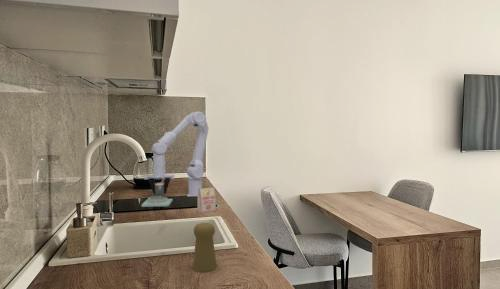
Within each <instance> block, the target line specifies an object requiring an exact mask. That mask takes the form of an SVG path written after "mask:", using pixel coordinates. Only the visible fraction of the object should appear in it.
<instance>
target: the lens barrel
mask: <svg viewBox="0 0 500 289" xmlns="http://www.w3.org/2000/svg"><path fill="white" fill-rule="evenodd" d="M164 190H165V186H164V182H155V194H154V196H166V194H165V193H164Z"/></svg>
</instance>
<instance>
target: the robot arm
mask: <svg viewBox="0 0 500 289" xmlns="http://www.w3.org/2000/svg"><path fill="white" fill-rule="evenodd" d="M189 126H194V128H195V129H196V130H197V134H196V140H195V145H194V150H193V153H192V158H191V159H192V160H191V161H190V162H189V164H188V165H189V166H188V167H187V168H186V174H187V176H188V178H187V179H188V180H187V181H188V182H187V183H188V193H187V195H186V196H187V197H189V198H190V197H198V191H199V189H201V188H203V176H204V173H205V172H204V164H203V158H204V153H205V148H206V143H207V138H208V134H209V126H208V122H207V116H206V115H205V114H204V112H202V111H193V112H190V113H189V114H187V115H185V117H184V118H183V119H182V120H181V121H180V122H179V123H178V124H177V125H176V126H175V127H174V128H173V129H172V130H171V131H167V132H164V133H163V136H162V137H160V139H158V140H157V142H155V143H154V144H152V147H151V151H152V153H153V159H152V163H153V174H150V175H149V174H147V175H144V176H143V177H144V181H145V180H148V183H149V186H150V188H151V190H152V194H153V195H155V183H156V180H163V183H164V186H165V190H164V193H165V195H166V194H167V192H168V189H169V184H170V182H171V181H172V180H174V179H175V174H166V152H167V149H168V148H169V147H170V146H171V145H172V144H173V143H175V141H176V140H177V137H178V135H179V134H180V133H181V132H183V131H184V130H185V129H186V128H187V127H189Z"/></svg>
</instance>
